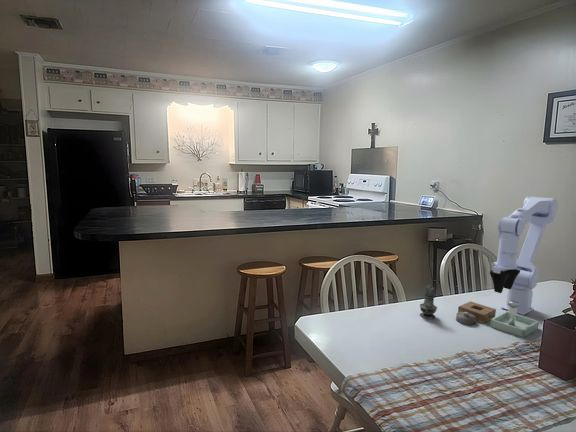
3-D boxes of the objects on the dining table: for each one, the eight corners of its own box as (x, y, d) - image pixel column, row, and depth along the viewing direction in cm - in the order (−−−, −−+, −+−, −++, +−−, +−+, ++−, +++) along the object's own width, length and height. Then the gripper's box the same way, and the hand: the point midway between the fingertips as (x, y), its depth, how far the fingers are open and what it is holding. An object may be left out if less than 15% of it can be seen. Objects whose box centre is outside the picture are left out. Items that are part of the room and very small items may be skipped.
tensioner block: (469, 308, 140) (470, 301, 139) (495, 317, 133) (496, 309, 132) (448, 318, 130) (449, 310, 130) (474, 328, 123) (475, 319, 123)
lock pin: (507, 321, 127) (510, 299, 126) (517, 325, 125) (520, 302, 124) (503, 324, 125) (506, 301, 124) (514, 327, 123) (517, 304, 122)
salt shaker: (438, 320, 128) (441, 287, 127) (420, 318, 130) (422, 285, 128) (434, 313, 134) (437, 281, 132) (417, 312, 135) (420, 280, 134)
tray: (505, 317, 132) (506, 311, 132) (538, 328, 124) (539, 321, 124) (489, 326, 125) (490, 319, 124) (523, 338, 117) (524, 330, 116)
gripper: (504, 248, 136) (499, 284, 137) (486, 252, 127) (481, 290, 128) (525, 252, 130) (520, 289, 132) (508, 256, 121) (503, 296, 123)
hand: (502, 290), depth 130 cm, fingers open, 7 cm apart
